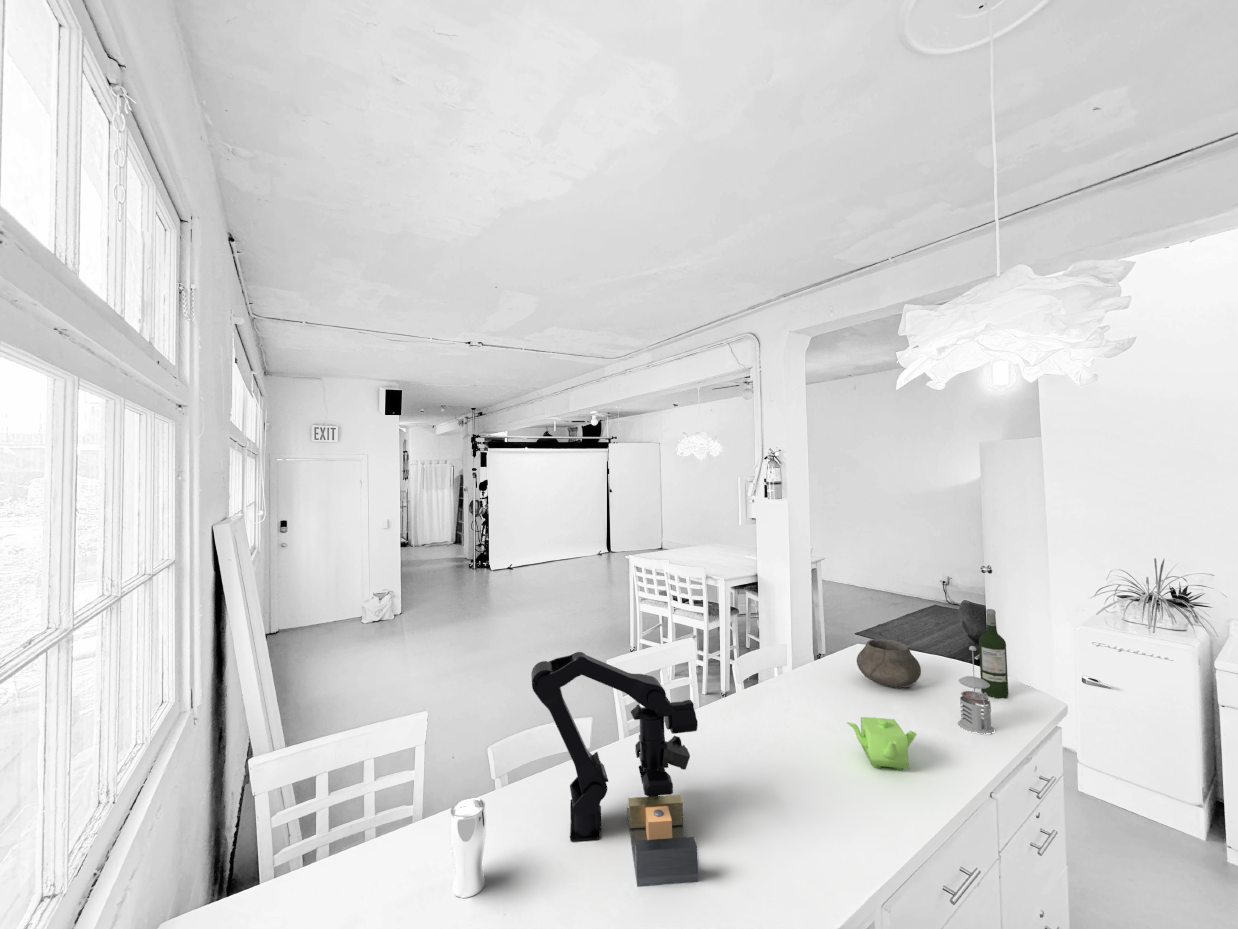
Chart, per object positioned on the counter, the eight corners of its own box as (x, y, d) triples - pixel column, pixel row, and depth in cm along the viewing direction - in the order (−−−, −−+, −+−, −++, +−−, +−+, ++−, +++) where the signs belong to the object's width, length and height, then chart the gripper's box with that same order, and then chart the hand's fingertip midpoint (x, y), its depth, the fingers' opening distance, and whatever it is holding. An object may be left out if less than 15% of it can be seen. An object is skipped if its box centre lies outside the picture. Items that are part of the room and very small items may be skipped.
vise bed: (637, 886, 100) (636, 851, 100) (627, 814, 122) (626, 785, 122) (698, 881, 101) (697, 847, 101) (677, 810, 123) (676, 782, 123)
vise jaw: (630, 828, 114) (629, 806, 115) (628, 819, 117) (628, 798, 118) (683, 824, 115) (682, 802, 115) (680, 816, 118) (680, 794, 118)
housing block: (648, 846, 109) (648, 820, 109) (645, 830, 114) (645, 806, 114) (672, 844, 109) (671, 819, 109) (668, 829, 114) (667, 804, 114)
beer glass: (490, 871, 105) (489, 796, 105) (482, 899, 98) (481, 818, 98) (455, 873, 105) (455, 797, 105) (445, 901, 98) (444, 819, 98)
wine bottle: (986, 697, 182) (982, 611, 183) (977, 689, 190) (974, 606, 191) (1012, 700, 180) (1008, 613, 181) (1003, 691, 188) (999, 607, 189)
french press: (983, 720, 165) (979, 641, 166) (1006, 738, 154) (1002, 653, 155) (951, 719, 166) (947, 641, 167) (971, 737, 155) (968, 652, 156)
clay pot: (922, 679, 200) (920, 640, 200) (920, 699, 182) (918, 656, 182) (861, 669, 211) (859, 633, 212) (853, 687, 193) (851, 647, 194)
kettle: (896, 783, 132) (894, 738, 133) (845, 760, 144) (843, 719, 144) (924, 764, 141) (922, 722, 141) (873, 743, 152) (871, 705, 153)
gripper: (695, 753, 111) (697, 827, 111) (678, 715, 130) (679, 778, 129) (644, 757, 111) (645, 831, 110) (634, 717, 129) (635, 781, 129)
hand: (653, 803), depth 120 cm, fingers closed
